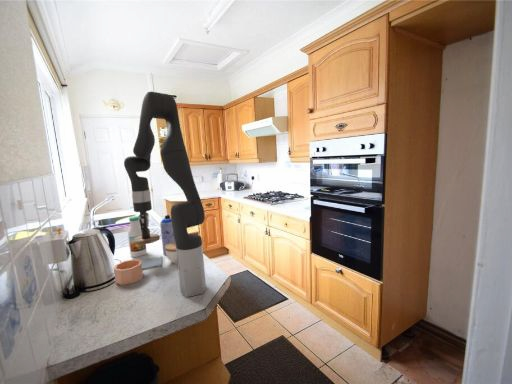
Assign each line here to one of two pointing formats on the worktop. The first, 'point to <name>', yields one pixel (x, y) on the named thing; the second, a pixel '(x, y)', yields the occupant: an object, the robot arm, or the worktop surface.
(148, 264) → the mat
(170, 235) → the aerosol can
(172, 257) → the lidded jar
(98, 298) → the worktop surface
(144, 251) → the milk bottle
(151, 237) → the lid
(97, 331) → the worktop surface
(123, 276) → the bowl
